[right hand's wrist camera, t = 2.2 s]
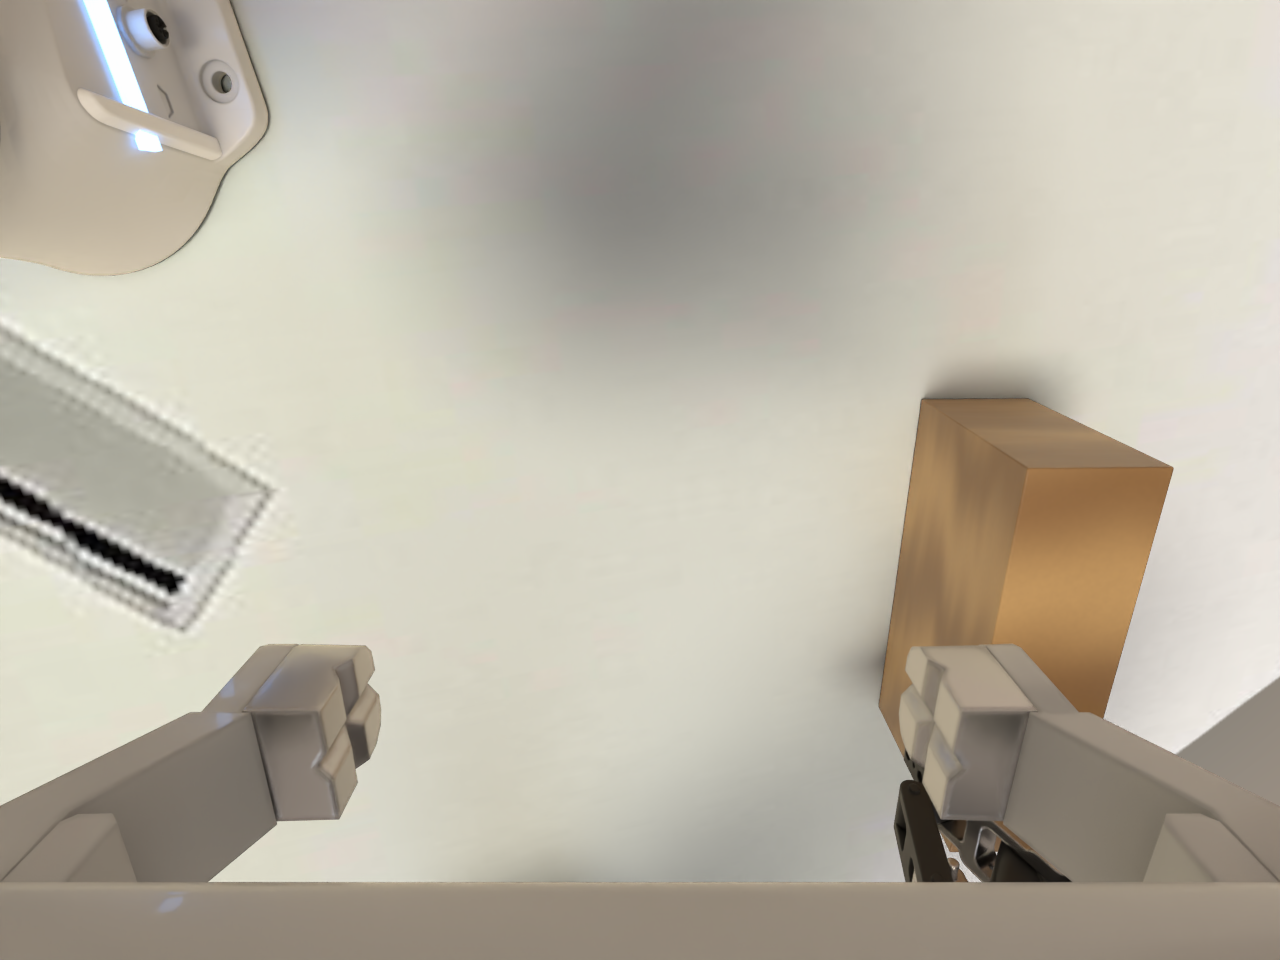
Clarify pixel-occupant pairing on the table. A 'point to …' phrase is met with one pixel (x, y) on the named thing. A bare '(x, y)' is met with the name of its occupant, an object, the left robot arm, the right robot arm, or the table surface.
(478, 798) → the table surface
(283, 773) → the right robot arm
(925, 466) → the box
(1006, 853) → the left robot arm
